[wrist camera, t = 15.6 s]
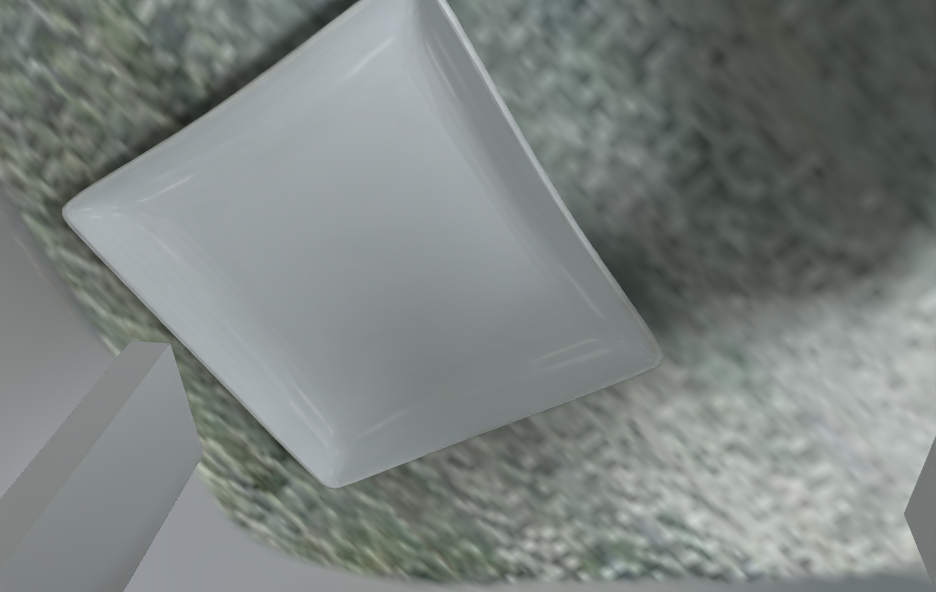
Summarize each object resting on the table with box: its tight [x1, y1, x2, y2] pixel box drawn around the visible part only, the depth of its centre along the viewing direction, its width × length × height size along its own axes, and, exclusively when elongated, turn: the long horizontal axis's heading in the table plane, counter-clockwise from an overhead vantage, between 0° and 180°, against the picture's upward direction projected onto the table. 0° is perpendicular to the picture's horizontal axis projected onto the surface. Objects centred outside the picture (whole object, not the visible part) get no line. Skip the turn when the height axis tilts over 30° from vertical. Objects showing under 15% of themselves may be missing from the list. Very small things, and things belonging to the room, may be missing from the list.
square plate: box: [62, 0, 663, 489], centre depth 49 cm, size 27×27×4 cm
